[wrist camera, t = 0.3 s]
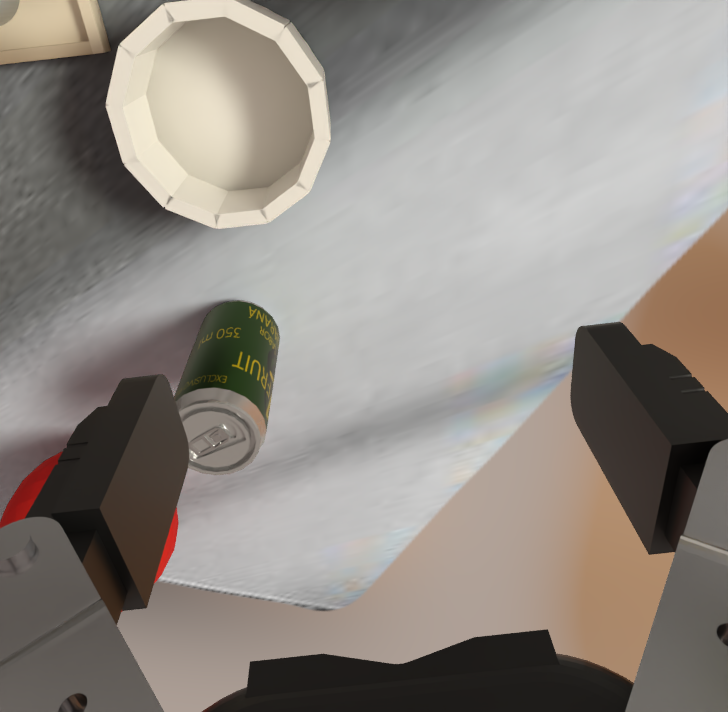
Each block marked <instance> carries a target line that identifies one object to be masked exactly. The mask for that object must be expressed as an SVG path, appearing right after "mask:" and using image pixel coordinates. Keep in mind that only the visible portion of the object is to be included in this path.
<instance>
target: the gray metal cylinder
mask: <svg viewBox="0 0 728 712" xmlns="http://www.w3.org/2000/svg"><path fill="white" fill-rule="evenodd" d="M19 2H20V0H0V26H2V25H4V24H6V23H8V22H9V21H10V20H11V19H12V18H13V17H14V15H15V14H16V12H17V9H18V7H19Z"/></svg>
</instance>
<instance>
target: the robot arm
mask: <svg viewBox="0 0 728 712" xmlns="http://www.w3.org/2000/svg"><path fill="white" fill-rule="evenodd" d="M571 406H572V412H573V416H574V419H575V422H576V424H577V426H578V427H579V429H580V431H581V433H582V435H583V437H584V438H585V440H586V442H587V444H588V446H589V447H590V449H591V451H592V453H593V454H594V456H595V458H596V460H597V462H598V463H599V465H600V467H601V469H602V471H603V473H604V474H605V476H606V478H607V480H608V482H609V483H610V485H611V487H612V489H613V491H614V492H615V494H616V496H617V498H618V500H619V501H620V503H621V505H622V507H623V509H624V510H625V512H626V514H627V516H628V517H629V519H630V521H631V523H632V525H633V526H634V528H635V530H636V532H637V534H638V535H639V537H640V539H641V541H642V543H643V545H644V546H645V548H646V550H647V551H648V554H649V555H650V554H660V553H669V552H675V555H674V559H673V562H672V565H671V568H670V571H669V575H668V578H667V581H666V584H665V587H664V590H663V594H662V597H661V600H660V603H659V606H658V610H657V612H656V616H655V619H654V622H653V625H652V628H651V631H650V634H649V638H648V641H647V644H646V647H645V650H644V654H643V657H642V660H641V663H640V666H639V669H638V672H637V676H636V679H635V682H634V683H633V682H631V681H630V680H628V679H626V678H625V677H623V676H621V675H619V674H617V673H615V672H613V671H611V670H609V669H607V668H605V667H602V666H600V665H597V664H595V663H592V662H589V661H587V660H583V659H579V658H575V657H571V656H568V655H562V654H556V652H555V649H554V647H553V644H552V640H551V638H550V635H549V632H548V630H538V631H529V632H520V633H511V634H501V635H492V636H483V637H474V638H472V639H469V640H466V641H463V642H461V643H458V644H455V645H453V646H450V647H448V648H445V649H442V650H439V651H437V652H434V653H432V654H429V655H426V656H423V657H421V658H418V659H416V660H413V661H410V662H407V663H404V664H389V663H382V662H375V661H368V660H361V659H355V658H347V657H341V656H334V655H327V654H318V655H308V656H299V657H289V658H280V659H271V660H262V661H252V662H250V668H249V677H248V684H247V687H246V688H244V689H241V690H239V691H236V692H234V693H232V694H230V695H228V696H226V697H224V698H222V699H221V700H219V701H218V702H216V703H214V704H213V705H212V706H210V707H208V708H207V709H205V710H203V711H202V712H728V413H727V412H726V411H725V410H724V409H723V407H722V406H721V405H720V404H719V403H718V402H717V401H716V400H715V399H714V398H713V397H712V395H711V394H710V393H709V392H708V391H705V390H704V387H703V386H702V385H701V384H700V382H698V380H697V379H696V378H695V377H692V375H691V373H690V372H689V370H687V369H686V367H685V366H684V365H683V364H682V363H681V362H680V361H679V360H678V359H677V357H675V356H673V355H671V354H670V353H668V352H666V351H664V350H662V349H660V348H658V347H656V346H655V345H653V344H647V345H641V344H640V343H639V342H638V340H637V339H636V338H635V337H634V336H633V334H632V333H631V332H630V331H629V330H628V329H627V327H626V326H625V325H624V324H623V323H621V322H614V323H605V324H597V325H588V326H581V327H579V328H578V330H577V332H576V337H575V348H574V359H573V370H572V382H571ZM188 464H189V445H188V439H187V436H186V432H185V429H184V426H183V423H182V420H181V417H180V414H179V412H178V409H177V406H176V403H175V400H174V397H173V394H172V391H171V388H170V385H169V382H168V380H167V379H166V377H165V376H164V375H162V374H160V375H151V376H143V377H134V378H126V379H122V380H121V382H120V383H119V385H118V387H117V389H116V391H115V393H114V394H113V396H112V398H111V400H110V402H109V404H108V406H103V407H98V408H96V409H95V410H94V411H93V412H92V413H91V414H90V415H89V416H87V417H86V418H85V419H84V420H83V421H82V422H81V423H80V424H79V425H78V426H77V427H76V429H75V431H74V433H73V434H72V436H71V438H70V440H69V441H68V443H67V448H64V450H63V452H62V454H61V455H60V457H59V459H58V464H56V465H55V466H54V468H53V470H52V471H51V473H50V475H49V477H48V478H47V480H46V482H45V484H44V485H43V487H42V489H41V491H40V492H39V494H38V496H37V498H36V499H35V501H34V503H33V505H32V506H31V508H30V510H29V512H28V513H27V515H26V517H25V519H22V520H18V521H16V522H13V523H10V524H8V525H6V526H4V527H2V528H0V712H164V711H163V709H162V707H161V705H160V703H159V702H158V700H157V698H156V696H155V694H154V692H153V691H152V689H151V687H150V685H149V683H148V682H147V680H146V678H145V676H144V674H143V672H142V671H141V669H140V667H139V665H138V663H137V662H136V660H135V658H134V656H133V654H132V653H131V651H130V649H129V647H128V645H127V644H126V642H125V640H124V638H123V636H122V634H121V632H120V631H119V629H118V627H117V623H118V620H119V617H120V614H121V611H124V610H134V609H143V608H147V605H148V602H149V598H150V595H151V592H152V588H153V585H154V581H155V578H156V575H157V571H158V568H159V564H160V561H161V558H162V554H163V551H164V547H165V544H166V540H167V537H168V534H169V530H170V527H171V523H172V520H173V517H174V513H175V510H176V506H177V503H178V500H179V496H180V493H181V489H182V486H183V483H184V479H185V476H186V472H187V469H188Z"/></svg>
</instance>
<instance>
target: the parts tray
mask: <svg viewBox="0 0 728 712" xmlns="http://www.w3.org/2000/svg"><path fill="white" fill-rule="evenodd" d="M109 51H111V47H110V44H109V40H108V37H107V33H106V30H105V26H104V23H103V19H102V16H101V12H100V8H99V5H98V1H97V0H20V2H19V7H18V9H17V12H16V14H15V15H14V17H13V18H12V19H11V20H10V21H9V22H8V23H6V24H4V25H2V26H0V65H1V64H10V63H18V62H27V61H36V60H45V59H54V58H62V57H71V56H80V55H89V54H97V53H105V52H109Z"/></svg>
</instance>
